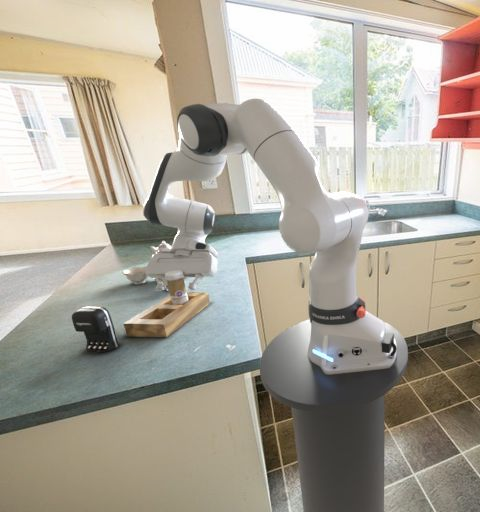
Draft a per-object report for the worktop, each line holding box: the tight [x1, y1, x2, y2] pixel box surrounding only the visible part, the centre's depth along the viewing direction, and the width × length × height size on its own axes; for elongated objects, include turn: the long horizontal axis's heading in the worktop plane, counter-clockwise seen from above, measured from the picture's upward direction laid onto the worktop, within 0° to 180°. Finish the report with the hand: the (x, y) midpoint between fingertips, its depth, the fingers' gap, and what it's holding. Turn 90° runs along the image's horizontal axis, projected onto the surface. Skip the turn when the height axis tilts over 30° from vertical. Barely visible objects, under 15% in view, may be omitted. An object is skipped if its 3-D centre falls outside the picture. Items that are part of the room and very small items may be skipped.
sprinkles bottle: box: [165, 270, 188, 305], centre depth 92 cm, size 5×5×14 cm
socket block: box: [123, 292, 211, 338], centre depth 89 cm, size 11×20×4 cm, turn 178°
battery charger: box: [71, 306, 120, 353], centre depth 73 cm, size 7×4×11 cm, turn 87°
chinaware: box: [122, 240, 186, 292], centre depth 114 cm, size 28×17×17 cm, turn 76°
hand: (176, 289), depth 91 cm, fingers open, 8 cm apart
